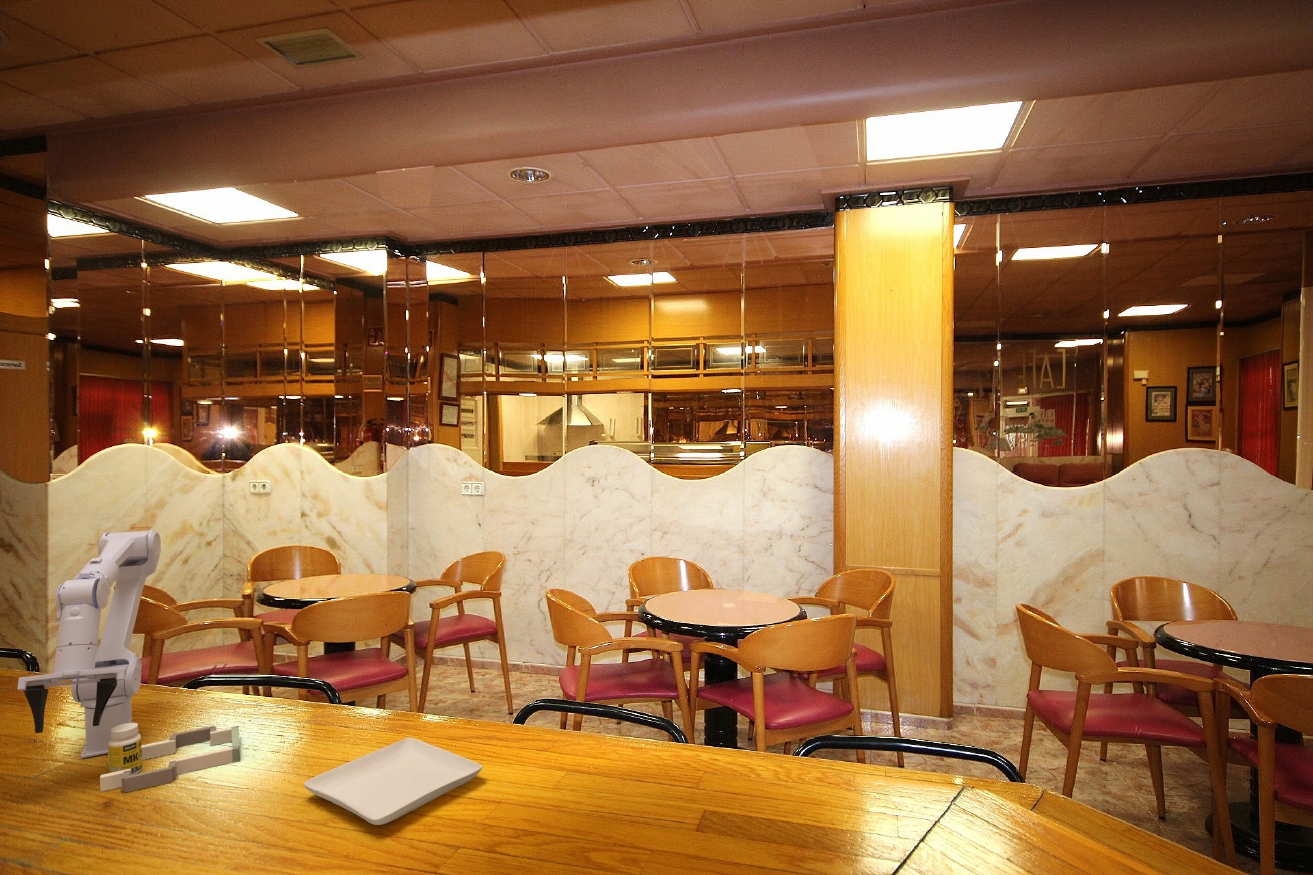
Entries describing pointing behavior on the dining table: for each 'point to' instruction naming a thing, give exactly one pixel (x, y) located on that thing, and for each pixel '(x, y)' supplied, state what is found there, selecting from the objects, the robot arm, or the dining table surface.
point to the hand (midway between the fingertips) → (67, 729)
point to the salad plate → (393, 780)
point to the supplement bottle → (125, 749)
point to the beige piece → (180, 764)
